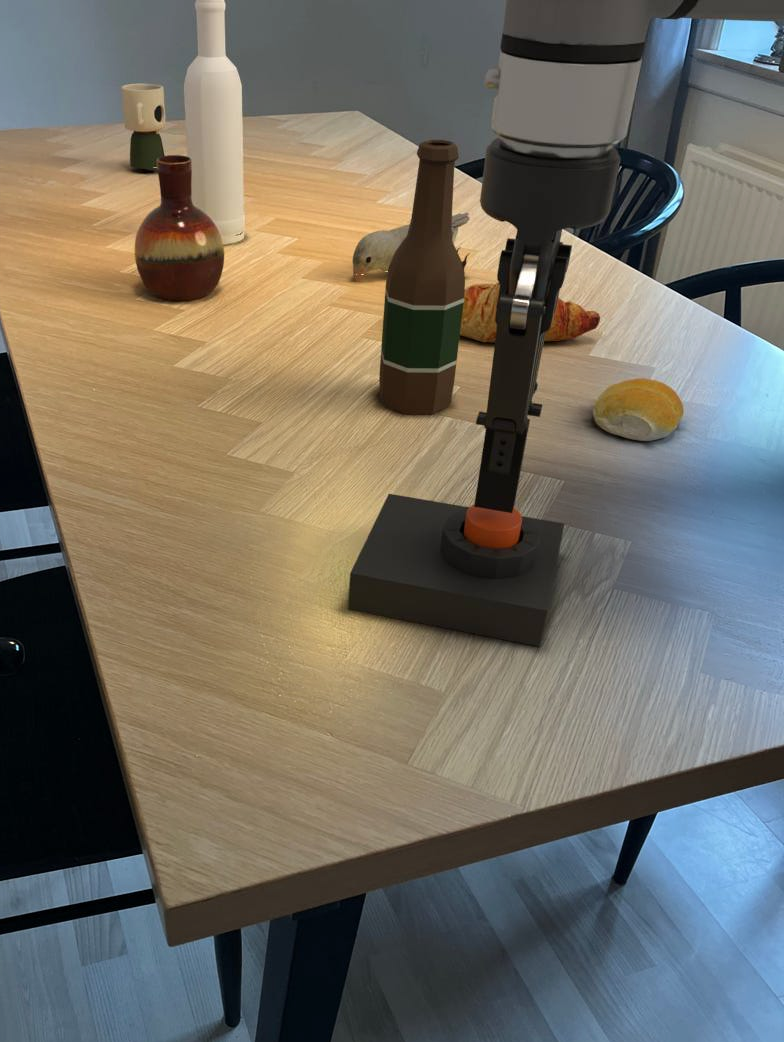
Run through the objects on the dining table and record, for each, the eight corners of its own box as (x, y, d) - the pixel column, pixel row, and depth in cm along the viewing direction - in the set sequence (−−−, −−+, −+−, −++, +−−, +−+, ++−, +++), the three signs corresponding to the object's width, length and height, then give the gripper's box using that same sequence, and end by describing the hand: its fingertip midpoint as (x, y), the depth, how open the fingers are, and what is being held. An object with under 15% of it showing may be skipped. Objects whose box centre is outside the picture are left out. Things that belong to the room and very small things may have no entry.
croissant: (409, 360, 117) (410, 312, 110) (420, 295, 121) (421, 245, 113) (591, 374, 113) (604, 325, 106) (596, 307, 117) (609, 256, 110)
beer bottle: (399, 421, 96) (421, 155, 81) (363, 391, 102) (378, 136, 87) (466, 409, 99) (500, 149, 84) (428, 379, 104) (454, 130, 89)
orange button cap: (521, 527, 72) (525, 506, 71) (514, 555, 69) (518, 534, 68) (468, 517, 73) (471, 497, 72) (459, 545, 70) (461, 524, 69)
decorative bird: (345, 274, 131) (348, 215, 126) (454, 264, 135) (461, 207, 130) (359, 287, 127) (363, 227, 122) (471, 277, 131) (478, 218, 126)
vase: (141, 308, 119) (129, 171, 110) (134, 278, 128) (123, 149, 118) (231, 303, 121) (227, 168, 112) (218, 274, 130) (214, 147, 120)
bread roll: (685, 414, 99) (696, 376, 96) (666, 450, 92) (677, 411, 90) (604, 396, 102) (612, 359, 99) (581, 430, 95) (589, 391, 93)
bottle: (250, 231, 145) (247, -10, 127) (238, 247, 139) (233, -4, 121) (198, 227, 146) (187, -13, 128) (184, 243, 140) (170, -7, 122)
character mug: (163, 178, 169) (157, 93, 161) (122, 176, 169) (114, 91, 161) (173, 163, 177) (168, 82, 169) (134, 162, 178) (127, 80, 170)
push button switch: (557, 557, 78) (569, 502, 75) (539, 647, 69) (552, 589, 66) (385, 527, 81) (390, 473, 78) (347, 609, 72) (351, 551, 69)
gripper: (504, 115, 61) (458, 455, 75) (469, 160, 51) (424, 542, 66) (628, 125, 59) (556, 471, 74) (616, 174, 49) (536, 562, 64)
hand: (494, 504), depth 70 cm, fingers closed
